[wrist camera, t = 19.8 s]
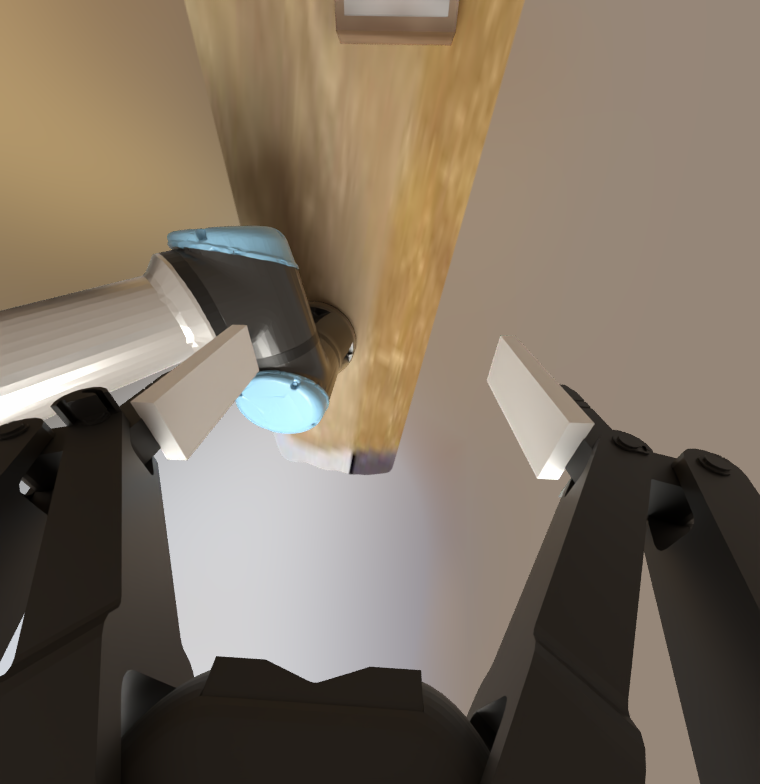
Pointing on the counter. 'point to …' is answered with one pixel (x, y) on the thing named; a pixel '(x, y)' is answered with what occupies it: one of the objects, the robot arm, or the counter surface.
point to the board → (396, 21)
